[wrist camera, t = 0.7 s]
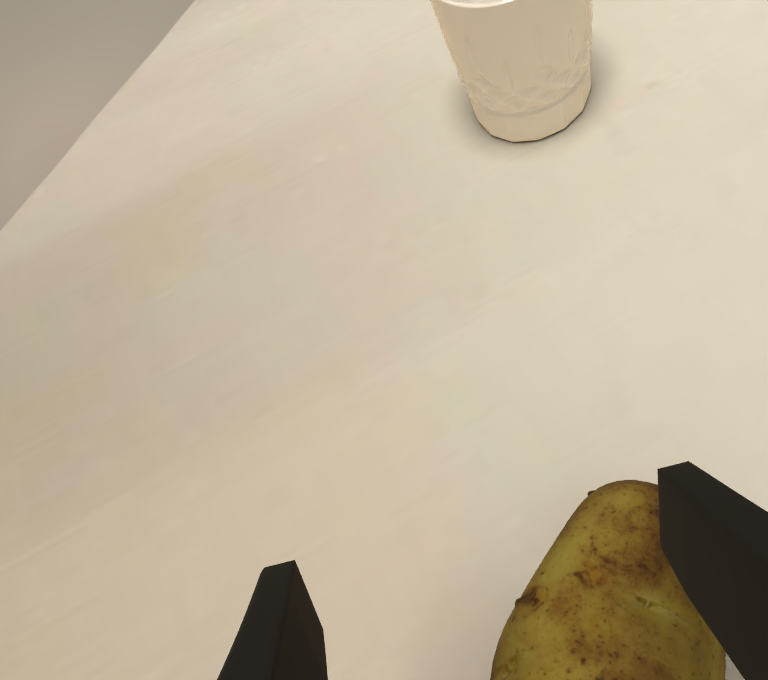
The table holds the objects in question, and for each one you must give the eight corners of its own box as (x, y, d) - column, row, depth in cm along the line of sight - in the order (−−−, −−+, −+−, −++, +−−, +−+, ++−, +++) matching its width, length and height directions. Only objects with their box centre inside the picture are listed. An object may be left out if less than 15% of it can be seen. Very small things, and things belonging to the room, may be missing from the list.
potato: (814, 600, 24) (884, 584, 18) (619, 901, 23) (612, 1012, 16) (617, 470, 29) (611, 416, 22) (440, 717, 27) (374, 743, 20)
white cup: (461, 70, 42) (416, -79, 33) (588, 31, 39) (575, -139, 31) (473, 166, 38) (425, 28, 30) (613, 130, 36) (606, -31, 27)
